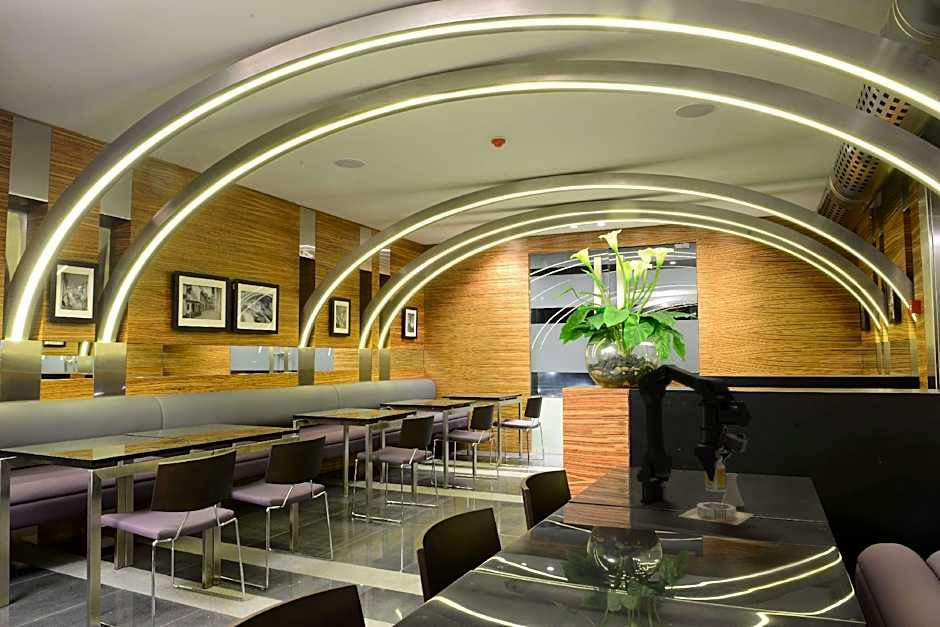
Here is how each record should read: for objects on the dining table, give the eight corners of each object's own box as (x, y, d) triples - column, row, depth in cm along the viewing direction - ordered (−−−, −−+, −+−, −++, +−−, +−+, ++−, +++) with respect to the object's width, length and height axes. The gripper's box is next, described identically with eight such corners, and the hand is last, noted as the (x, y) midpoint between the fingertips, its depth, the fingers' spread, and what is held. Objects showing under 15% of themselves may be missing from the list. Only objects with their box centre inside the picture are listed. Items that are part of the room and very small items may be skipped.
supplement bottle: (725, 489, 188) (724, 454, 189) (726, 492, 183) (725, 457, 184) (705, 488, 190) (704, 453, 191) (705, 491, 185) (704, 456, 186)
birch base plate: (677, 519, 185) (677, 516, 185) (697, 509, 197) (697, 506, 197) (737, 528, 175) (737, 524, 175) (754, 517, 187) (754, 514, 188)
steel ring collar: (692, 515, 185) (692, 506, 185) (704, 509, 193) (704, 500, 193) (729, 521, 179) (728, 511, 179) (740, 514, 187) (739, 505, 187)
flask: (741, 505, 204) (740, 472, 205) (748, 510, 197) (747, 476, 198) (716, 504, 205) (716, 471, 206) (723, 509, 198) (722, 475, 198)
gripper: (733, 428, 176) (734, 488, 175) (753, 423, 190) (754, 478, 189) (691, 425, 183) (692, 483, 182) (713, 420, 197) (714, 474, 196)
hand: (715, 479), depth 187 cm, fingers closed on supplement bottle, 5 cm apart
